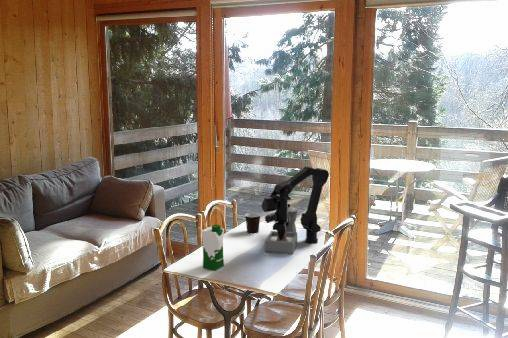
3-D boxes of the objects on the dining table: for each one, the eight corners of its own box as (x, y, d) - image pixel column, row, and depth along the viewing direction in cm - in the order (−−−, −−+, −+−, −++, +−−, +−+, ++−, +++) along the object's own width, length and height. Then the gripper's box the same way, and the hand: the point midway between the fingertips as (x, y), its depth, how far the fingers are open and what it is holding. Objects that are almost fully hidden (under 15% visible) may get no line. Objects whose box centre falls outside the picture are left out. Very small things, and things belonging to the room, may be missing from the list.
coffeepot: (302, 237, 260) (302, 205, 257) (288, 240, 256) (288, 207, 252) (287, 229, 273) (287, 199, 270) (273, 232, 269) (273, 201, 266)
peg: (278, 244, 247) (278, 227, 245) (286, 245, 246) (286, 228, 245) (277, 247, 243) (277, 229, 241) (285, 247, 242) (285, 230, 241)
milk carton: (215, 272, 214) (214, 229, 211) (199, 268, 219) (198, 226, 215) (226, 265, 222) (225, 224, 218) (211, 261, 226) (209, 221, 223)
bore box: (271, 241, 254) (271, 231, 252) (297, 243, 251) (297, 232, 250) (265, 252, 238) (265, 240, 237) (293, 254, 235) (293, 242, 234)
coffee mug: (246, 229, 275) (246, 212, 273) (261, 229, 274) (261, 213, 272) (243, 235, 264) (243, 218, 262) (258, 236, 263) (258, 218, 261)
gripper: (269, 203, 251) (269, 231, 254) (262, 213, 233) (262, 243, 236) (290, 204, 249) (290, 233, 252) (285, 214, 231) (284, 245, 234)
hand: (281, 238), depth 244 cm, fingers open, 5 cm apart
